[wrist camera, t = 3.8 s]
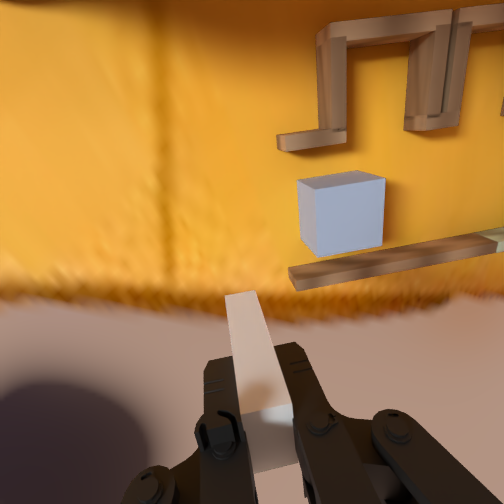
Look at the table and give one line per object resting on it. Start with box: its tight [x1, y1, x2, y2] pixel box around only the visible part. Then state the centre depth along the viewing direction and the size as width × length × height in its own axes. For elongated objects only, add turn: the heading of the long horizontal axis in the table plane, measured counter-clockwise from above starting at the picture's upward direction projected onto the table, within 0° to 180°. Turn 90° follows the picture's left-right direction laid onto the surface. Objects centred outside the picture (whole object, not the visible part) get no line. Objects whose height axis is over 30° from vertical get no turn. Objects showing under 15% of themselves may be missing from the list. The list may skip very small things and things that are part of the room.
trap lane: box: [276, 3, 504, 291], centre depth 27 cm, size 28×21×4 cm
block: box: [297, 170, 386, 258], centre depth 27 cm, size 6×6×5 cm
